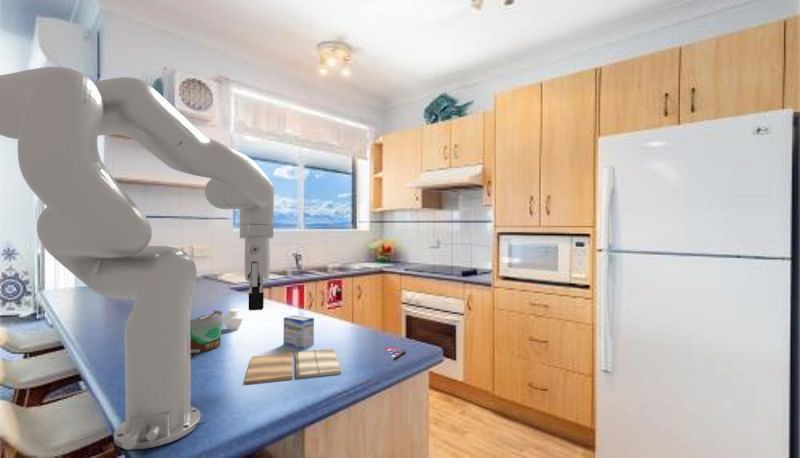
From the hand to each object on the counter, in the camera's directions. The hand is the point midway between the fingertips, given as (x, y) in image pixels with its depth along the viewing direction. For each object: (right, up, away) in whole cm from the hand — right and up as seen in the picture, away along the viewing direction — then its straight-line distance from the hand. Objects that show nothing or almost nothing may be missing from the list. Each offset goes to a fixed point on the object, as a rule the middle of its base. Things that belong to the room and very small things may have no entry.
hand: (256, 309), depth 90 cm
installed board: (+13, -15, +4) cm, 21 cm away
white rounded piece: (-22, -15, +39) cm, 47 cm away
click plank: (+3, -15, +1) cm, 16 cm away
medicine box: (+5, -15, +20) cm, 25 cm away
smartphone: (+29, -16, +10) cm, 35 cm away
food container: (-19, -15, +17) cm, 30 cm away
